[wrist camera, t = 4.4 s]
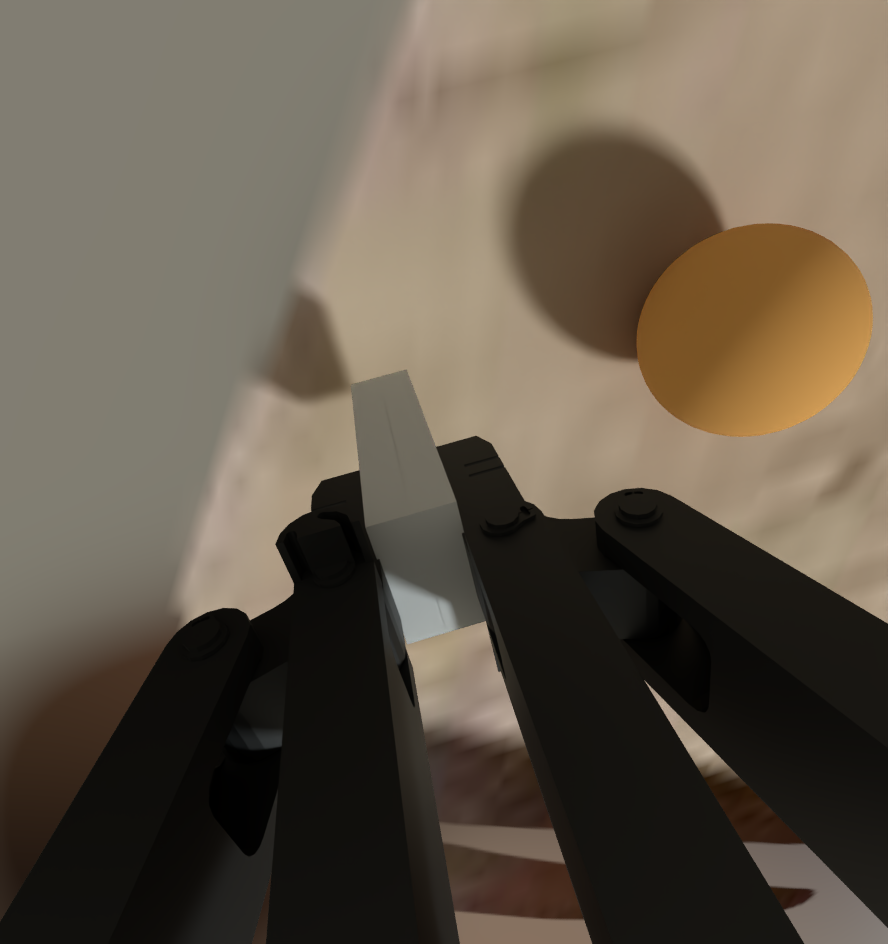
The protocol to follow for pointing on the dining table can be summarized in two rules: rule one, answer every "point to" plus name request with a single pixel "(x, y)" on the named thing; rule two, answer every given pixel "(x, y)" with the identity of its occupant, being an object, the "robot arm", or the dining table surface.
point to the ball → (754, 330)
